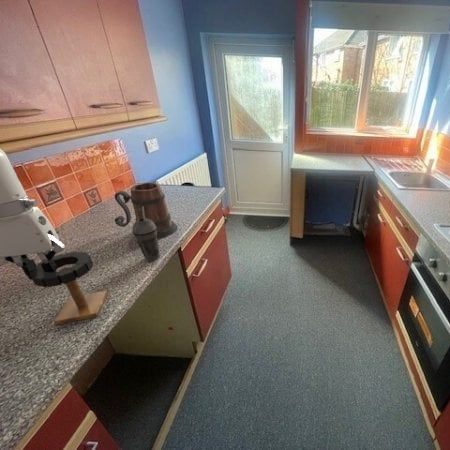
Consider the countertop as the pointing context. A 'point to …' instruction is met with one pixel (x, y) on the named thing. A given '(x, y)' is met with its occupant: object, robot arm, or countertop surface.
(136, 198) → the tankard
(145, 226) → the beverage cup
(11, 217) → the robot arm
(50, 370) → the countertop surface
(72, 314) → the stand
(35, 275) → the ring
